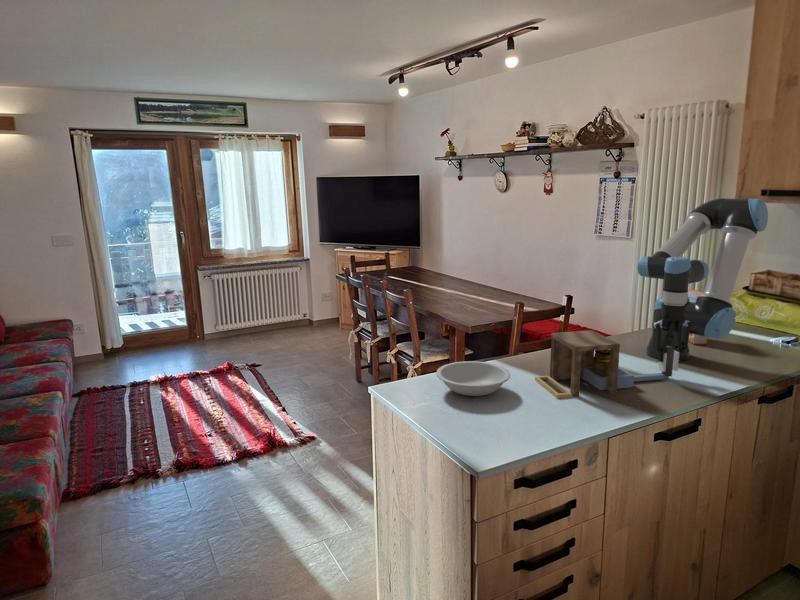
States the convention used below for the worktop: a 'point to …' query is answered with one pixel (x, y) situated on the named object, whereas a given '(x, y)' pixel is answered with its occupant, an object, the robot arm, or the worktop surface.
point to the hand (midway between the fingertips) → (667, 369)
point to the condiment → (601, 363)
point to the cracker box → (692, 337)
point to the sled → (629, 374)
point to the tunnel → (581, 357)
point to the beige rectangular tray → (553, 387)
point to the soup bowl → (473, 377)
